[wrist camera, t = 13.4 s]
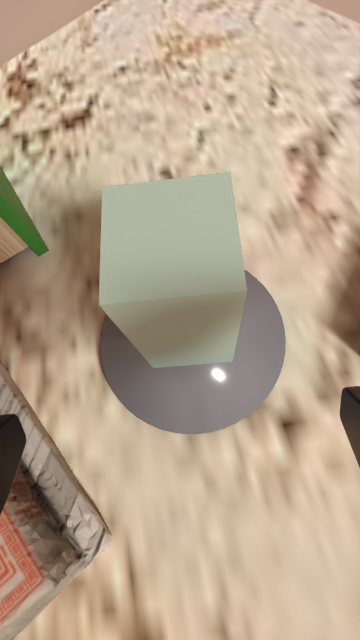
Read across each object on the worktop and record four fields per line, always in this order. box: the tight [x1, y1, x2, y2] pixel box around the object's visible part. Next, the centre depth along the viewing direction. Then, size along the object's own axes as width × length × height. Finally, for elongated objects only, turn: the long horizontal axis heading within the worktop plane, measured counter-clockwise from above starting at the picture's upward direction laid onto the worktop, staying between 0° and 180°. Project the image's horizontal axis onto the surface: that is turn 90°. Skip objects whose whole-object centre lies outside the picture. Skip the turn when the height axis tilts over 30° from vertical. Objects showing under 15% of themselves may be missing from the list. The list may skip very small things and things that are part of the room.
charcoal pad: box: [100, 270, 285, 434], centre depth 22 cm, size 12×12×1 cm
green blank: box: [99, 172, 247, 368], centre depth 17 cm, size 5×5×10 cm
